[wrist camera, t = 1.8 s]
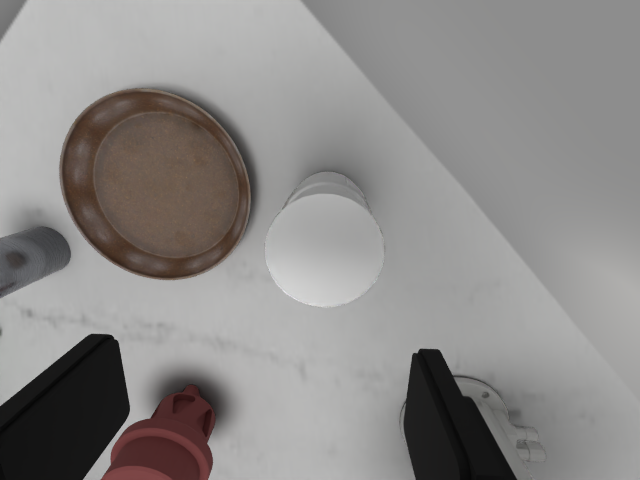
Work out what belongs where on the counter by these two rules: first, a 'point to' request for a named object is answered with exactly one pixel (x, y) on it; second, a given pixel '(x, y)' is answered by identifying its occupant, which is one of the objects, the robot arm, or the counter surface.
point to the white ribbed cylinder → (325, 242)
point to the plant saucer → (155, 184)
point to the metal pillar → (30, 257)
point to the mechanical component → (167, 442)
